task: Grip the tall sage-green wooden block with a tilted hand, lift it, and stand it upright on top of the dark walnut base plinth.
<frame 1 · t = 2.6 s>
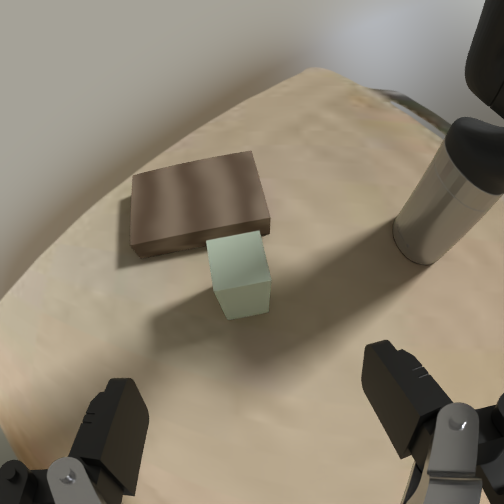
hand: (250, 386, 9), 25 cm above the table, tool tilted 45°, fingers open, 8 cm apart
sage block: (244, 297, 36), on the table
walnut base: (198, 209, 42), on the table
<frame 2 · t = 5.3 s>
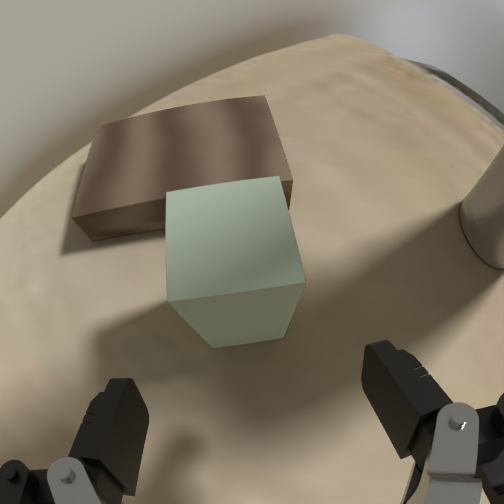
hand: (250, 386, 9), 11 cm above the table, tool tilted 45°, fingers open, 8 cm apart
sage block: (243, 310, 21), on the table
walnut base: (183, 174, 27), on the table
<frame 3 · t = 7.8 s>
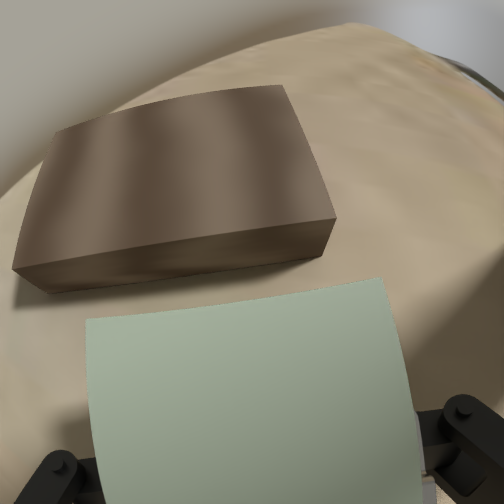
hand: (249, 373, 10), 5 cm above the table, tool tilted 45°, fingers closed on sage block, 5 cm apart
sage block: (258, 412, 13), on the table, touching gripper
walnut base: (167, 196, 19), on the table
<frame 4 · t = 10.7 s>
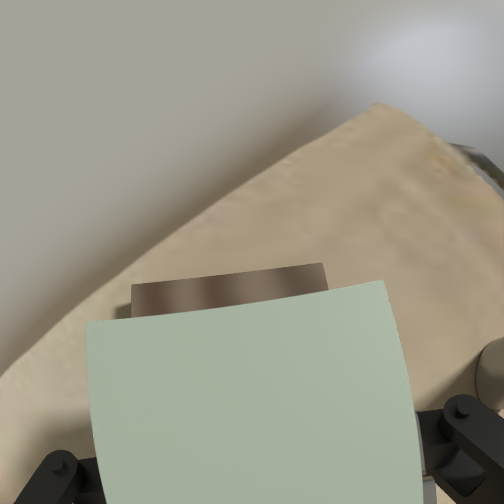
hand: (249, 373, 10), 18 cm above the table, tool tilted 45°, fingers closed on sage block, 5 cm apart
sage block: (258, 413, 13), point 13 cm above the table, touching gripper
walnut base: (235, 347, 27), on the table
when the fingers open (11 cm above the table, at t = 13.3 s): sage block drops 2 cm, resting on walnut base.
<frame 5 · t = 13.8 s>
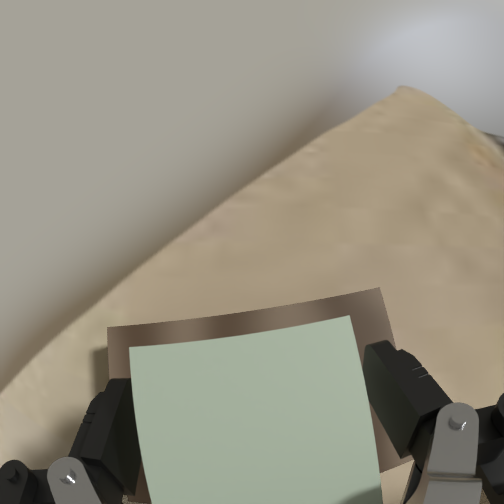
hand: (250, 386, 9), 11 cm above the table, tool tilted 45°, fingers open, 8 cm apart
sage block: (258, 412, 15), point 4 cm above the table, touching walnut base
walnut base: (258, 406, 18), on the table
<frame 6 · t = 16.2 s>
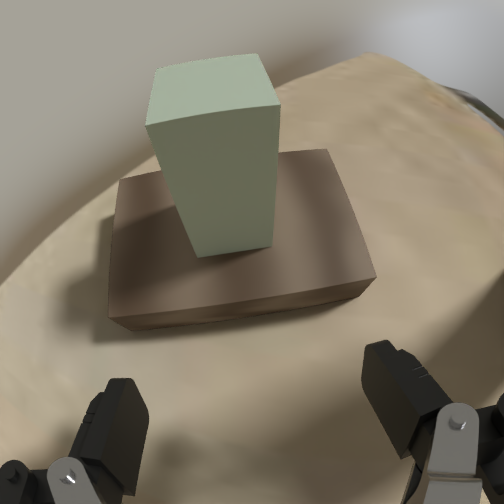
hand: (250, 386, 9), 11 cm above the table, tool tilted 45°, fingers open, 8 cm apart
sage block: (230, 220, 21), point 4 cm above the table, touching walnut base
walnut base: (234, 246, 24), on the table
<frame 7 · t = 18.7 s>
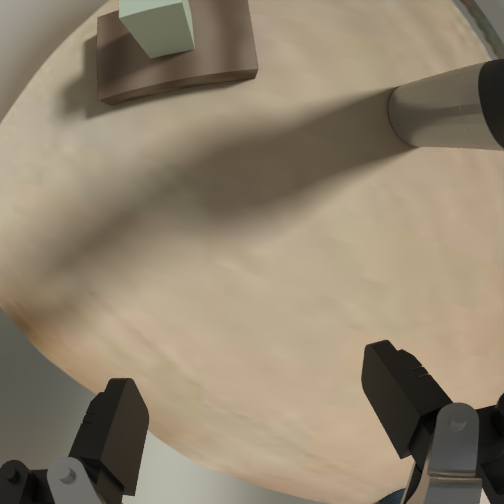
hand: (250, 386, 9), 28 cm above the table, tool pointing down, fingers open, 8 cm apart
canister: (393, 495, 73), on the table
sage block: (170, 35, 25), point 4 cm above the table, touching walnut base
walnut base: (176, 47, 28), on the table
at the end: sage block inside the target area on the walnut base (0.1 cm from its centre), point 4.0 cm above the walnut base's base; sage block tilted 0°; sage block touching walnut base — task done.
